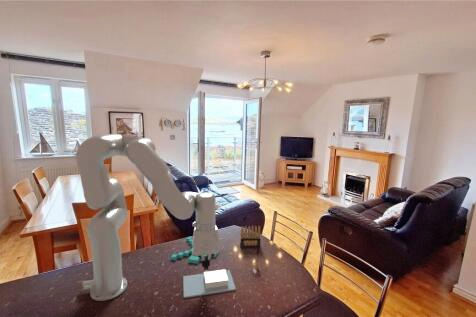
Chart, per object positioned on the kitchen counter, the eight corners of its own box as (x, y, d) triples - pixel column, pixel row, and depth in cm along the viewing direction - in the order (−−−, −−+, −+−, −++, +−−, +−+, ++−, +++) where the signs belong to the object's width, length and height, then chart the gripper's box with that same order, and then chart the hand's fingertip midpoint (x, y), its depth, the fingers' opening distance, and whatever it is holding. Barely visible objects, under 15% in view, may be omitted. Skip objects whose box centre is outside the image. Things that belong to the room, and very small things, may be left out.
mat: (183, 298, 86) (183, 296, 86) (183, 277, 98) (183, 276, 98) (235, 290, 91) (235, 288, 91) (229, 271, 103) (229, 270, 103)
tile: (205, 283, 90) (228, 279, 92) (204, 272, 97) (225, 269, 99) (205, 288, 91) (228, 285, 93) (204, 277, 97) (225, 274, 100)
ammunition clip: (259, 245, 125) (260, 224, 123) (260, 247, 123) (261, 226, 121) (240, 246, 124) (240, 224, 122) (240, 247, 122) (240, 226, 120)
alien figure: (171, 260, 110) (211, 266, 106) (171, 256, 110) (211, 262, 106) (188, 240, 130) (222, 244, 126) (188, 236, 129) (222, 240, 125)
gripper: (186, 230, 85) (187, 276, 88) (226, 227, 89) (225, 271, 91) (185, 222, 92) (186, 264, 95) (222, 219, 96) (222, 260, 98)
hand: (205, 267), depth 93 cm, fingers closed
